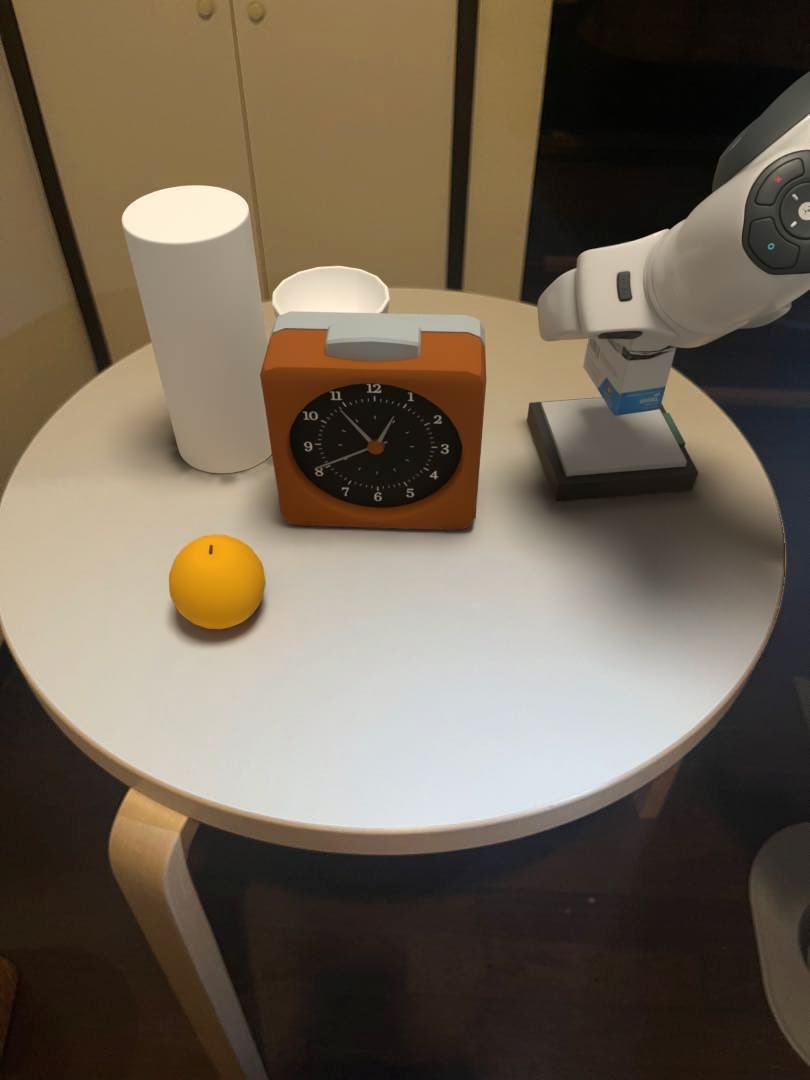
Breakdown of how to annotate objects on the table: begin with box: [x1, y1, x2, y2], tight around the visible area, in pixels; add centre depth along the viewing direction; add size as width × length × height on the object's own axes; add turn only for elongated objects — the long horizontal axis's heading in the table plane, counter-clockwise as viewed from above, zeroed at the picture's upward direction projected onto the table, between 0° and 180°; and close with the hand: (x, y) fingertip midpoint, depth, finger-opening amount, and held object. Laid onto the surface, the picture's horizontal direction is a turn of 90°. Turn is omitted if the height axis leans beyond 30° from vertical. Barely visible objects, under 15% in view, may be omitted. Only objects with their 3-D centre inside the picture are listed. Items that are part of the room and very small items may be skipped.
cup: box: [271, 265, 391, 319], centre depth 94 cm, size 12×12×11 cm
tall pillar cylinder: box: [121, 184, 272, 474], centre depth 82 cm, size 11×11×25 cm
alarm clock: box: [260, 311, 487, 531], centre depth 77 cm, size 18×9×21 cm, turn 87°
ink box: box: [582, 338, 677, 416], centre depth 79 cm, size 8×5×12 cm, turn 12°
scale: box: [526, 396, 699, 503], centre depth 88 cm, size 14×13×3 cm
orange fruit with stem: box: [168, 533, 266, 630], centre depth 73 cm, size 8×8×8 cm
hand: (630, 327), depth 79 cm, fingers closed on ink box, 5 cm apart
